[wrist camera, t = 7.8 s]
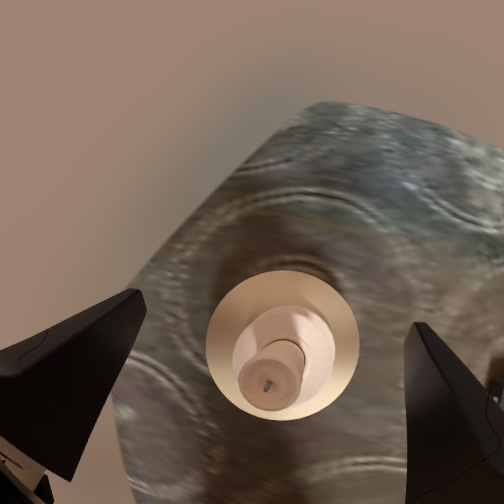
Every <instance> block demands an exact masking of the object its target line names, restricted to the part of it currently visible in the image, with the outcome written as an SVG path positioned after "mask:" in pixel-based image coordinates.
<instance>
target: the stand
mask: <svg viewBox="0 0 504 504" xmlns="http://www.w3.org/2000/svg"><path fill="white" fill-rule="evenodd" d="M284 305H289V306H300V307H303V308H307V309H309V310H311V311H312V312H314V313H316V314H318V315H319V316H320V317H321V318H322V319H323V320H324V321H325V322H326V323H327V325H328V327H329V329H330V330H331V332H332V334H333V338H334V343H335V358H334V361H333V369H332V372H331V375H330V378H329V380H328V382H327V384H326V385H325V387H324V388H323V390H322V391H321V392H320V393H319V394H318V395H317V396H316V397H314V398H313V399H312V400H311V401H309V402H307V403H305V404H303V405H300V406H298V407H293V408H288V409H284V410H281V411H275V412H269V411H263V410H260V409H257V408H255V407H254V406H252V405H251V404H249V403H248V402H247V401H246V400H245V398H244V397H243V395H242V393H241V392H240V388H239V385H238V382H237V380H236V378H235V374H234V370H233V365H232V363H233V351H234V348H235V345H236V342H237V340H238V338H239V337H240V335H241V334H242V332H243V331H244V329H245V328H246V327H248V326H249V325H250V324H251V323H252V322H253V321H254V320H255V319H257V318H258V317H259V316H260V315H261V314H262V313H264V312H266V311H268V310H270V309H272V308H275V307H280V306H284ZM358 356H359V333H358V328H357V324H356V321H355V318H354V315H353V313H352V311H351V309H350V308H349V306H348V304H347V303H346V302H345V300H344V299H343V298H342V296H341V295H340V294H339V293H338V292H337V291H336V290H335V289H333V288H332V287H331V286H330V285H328V284H327V283H325V282H324V281H322V280H320V279H318V278H316V277H314V276H312V275H309V274H305V273H302V272H296V271H286V270H280V271H270V272H266V273H261V274H259V275H256V276H253V277H251V278H249V279H247V280H245V281H243V282H242V283H240V284H239V285H237V286H236V287H234V288H233V289H232V290H231V291H230V292H229V293H228V294H227V295H226V296H225V297H224V298H223V299H222V300H221V302H220V303H219V305H218V306H217V308H216V310H215V311H214V313H213V315H212V317H211V320H210V323H209V326H208V330H207V335H206V357H207V363H208V367H209V370H210V373H211V375H212V377H213V379H214V381H215V383H216V385H217V386H218V388H219V389H220V391H221V392H222V393H223V394H224V395H225V396H226V398H228V399H229V400H230V401H231V402H232V403H233V404H234V405H236V406H237V407H239V408H240V409H242V410H244V411H245V412H247V413H249V414H252V415H255V416H257V417H260V418H265V419H270V420H293V419H298V418H302V417H305V416H309V415H311V414H313V413H316V412H318V411H320V410H321V409H323V408H324V407H326V406H328V405H329V404H330V403H331V402H333V401H334V400H335V399H336V398H337V397H338V396H339V395H340V394H341V393H342V392H343V390H344V389H345V387H346V386H347V384H348V383H349V381H350V379H351V377H352V375H353V373H354V370H355V368H356V365H357V361H358Z"/></svg>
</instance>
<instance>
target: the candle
mask: <svg viewBox="0 0 504 504" xmlns="http://www.w3.org/2000/svg"><path fill="white" fill-rule="evenodd" d="M334 358H335V343H334V338H333V334H332V332H331V330H330V329H329V327H328V325H327V323H326V322H325V321H324V320H323V319H322V318H321V317H320V316H319V315H318V314H316V313H314V312H312V311H311V310H309V309H307V308H303V307H300V306H289V305H284V306H280V307H275V308H272V309H270V310H268V311H266V312H264V313H262V314H261V315H260V316H259V317H258V318H257V319H255V320H254V321H253V322H252V323H251V324H250V325H249V326H248V327H246V328H245V329H244V331H243V332H242V334H241V335H240V337H239V338H238V340H237V342H236V345H235V348H234V351H233V363H232V365H233V370H234V374H235V378H236V380H237V382H238V385H239V388H240V392H241V393H242V395H243V397H244V398H245V400H246V401H247V402H248V403H249V404H251V405H252V406H254V407H255V408H257V409H260V410H263V411H269V412H275V411H281V410H284V409H288V408H293V407H298V406H300V405H303V404H305V403H307V402H309V401H311V400H312V399H313V398H314V397H316V396H317V395H318V394H319V393H320V392H321V391H322V390H323V388H324V387H325V385H326V384H327V382H328V380H329V378H330V375H331V372H332V369H333V361H334Z"/></svg>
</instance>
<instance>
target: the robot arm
mask: <svg viewBox="0 0 504 504" xmlns="http://www.w3.org/2000/svg"><path fill="white" fill-rule="evenodd" d="M146 311H147V309H146V305H145V301H144V298H143V295H142V292H141V291H140V290H138V289H134V288H129V289H127V290H125V291H123V292H121V293H118V294H117V295H114V296H112V297H110V298H108V299H106V300H104V301H102V302H100V303H98V304H96V305H94V306H92V307H90V308H88V309H86V310H84V311H82V312H80V313H78V314H76V315H74V316H72V317H70V318H68V319H66V320H64V321H62V322H60V323H58V324H56V325H54V326H52V327H51V328H48V329H46V330H44V331H42V332H40V333H38V334H36V335H34V336H32V337H30V338H28V339H25V340H23V341H21V342H18V343H16V344H14V345H11V346H9V347H7V348H4V349H2V350H0V504H53V503H54V498H53V495H52V491H51V487H50V484H49V480H48V476H47V475H46V474H45V471H46V469H48V470H49V471H51V472H53V473H54V474H56V475H58V476H59V477H61V478H63V479H65V480H67V481H68V482H71V481H72V478H73V476H74V473H75V471H76V468H77V466H78V463H79V461H80V459H81V456H82V454H83V451H84V449H85V447H86V444H87V442H88V439H89V437H90V435H91V432H92V430H93V428H94V425H95V423H96V421H97V419H98V417H99V415H100V413H101V410H102V408H103V406H104V404H105V402H106V400H107V397H108V395H109V393H110V391H111V389H112V387H113V385H114V383H115V381H116V379H117V377H118V375H119V373H120V371H121V369H122V367H123V365H124V363H125V361H126V359H127V357H128V355H129V354H130V351H131V349H132V347H133V345H134V342H135V340H136V337H137V335H138V332H139V330H140V327H141V325H142V323H143V320H144V318H145V315H146ZM404 392H405V405H406V422H407V482H406V498H405V504H504V411H503V410H502V409H501V407H500V406H499V405H498V404H497V403H496V401H495V400H494V399H493V398H492V396H491V395H490V394H488V392H487V390H486V389H485V388H484V387H483V385H482V384H481V383H480V382H479V381H478V380H477V378H476V377H475V376H474V375H473V374H472V373H471V371H470V370H469V369H468V368H467V367H466V366H465V364H464V363H463V362H462V361H461V360H460V359H459V358H458V357H457V355H456V354H455V353H454V352H453V351H452V350H451V349H450V348H449V347H448V346H447V345H446V343H445V342H444V341H443V340H442V339H441V338H440V337H439V336H438V335H437V334H436V333H435V332H434V331H433V330H432V329H431V328H430V327H429V325H428V324H426V323H425V322H414V323H413V324H412V326H411V328H410V330H409V333H408V335H407V337H406V339H405V342H404Z"/></svg>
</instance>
